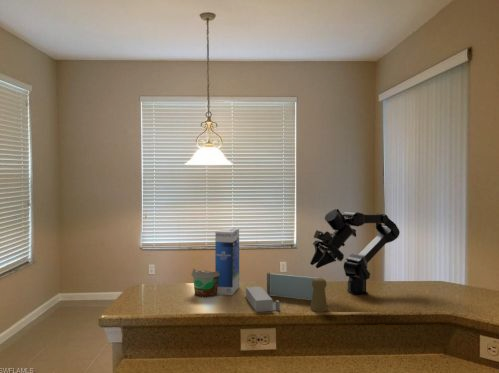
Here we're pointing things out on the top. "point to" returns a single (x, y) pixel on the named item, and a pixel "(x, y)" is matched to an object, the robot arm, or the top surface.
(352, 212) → the robot arm
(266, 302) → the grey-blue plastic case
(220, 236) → the string lights box
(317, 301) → the beige waisted cylinder
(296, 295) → the cover
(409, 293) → the top surface
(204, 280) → the food container
